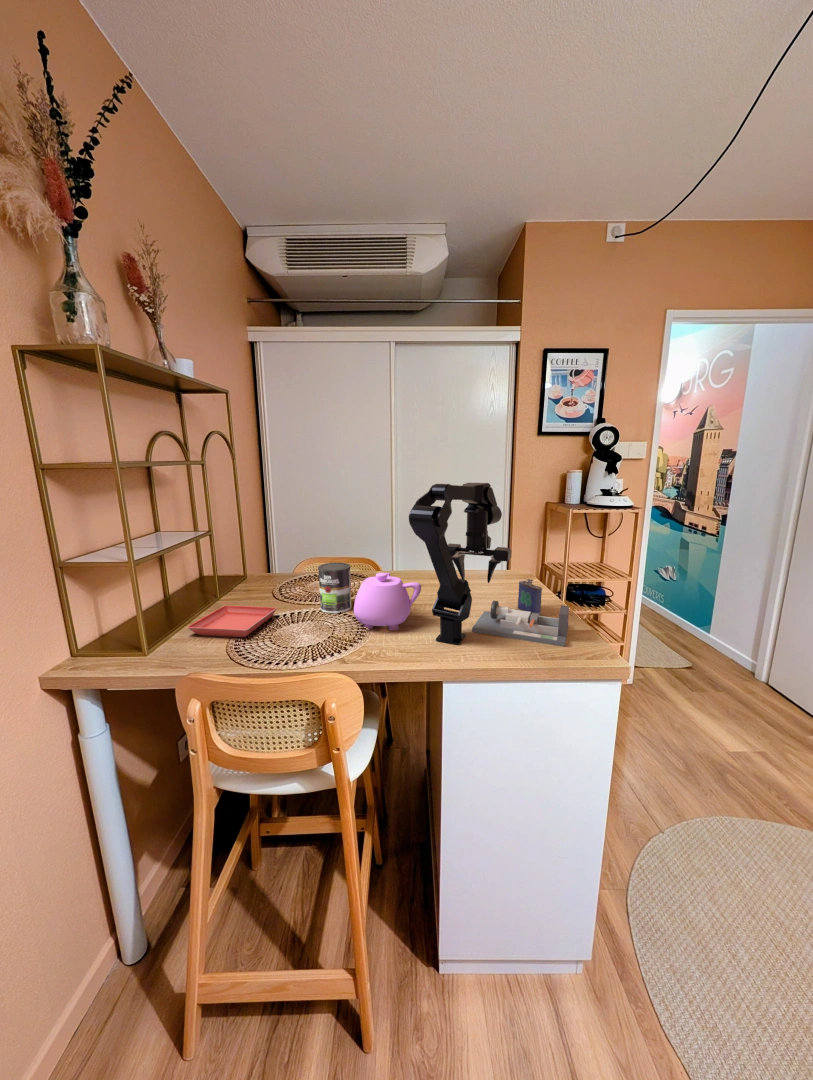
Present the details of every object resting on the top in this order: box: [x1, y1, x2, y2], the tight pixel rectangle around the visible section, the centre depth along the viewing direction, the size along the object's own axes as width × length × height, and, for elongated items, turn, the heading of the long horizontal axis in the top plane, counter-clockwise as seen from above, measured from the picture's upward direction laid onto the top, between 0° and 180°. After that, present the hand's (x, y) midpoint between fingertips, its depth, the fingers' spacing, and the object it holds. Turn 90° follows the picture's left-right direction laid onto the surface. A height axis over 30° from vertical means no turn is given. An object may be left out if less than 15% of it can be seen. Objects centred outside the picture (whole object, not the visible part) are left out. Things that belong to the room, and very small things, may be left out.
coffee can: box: [317, 562, 352, 614], centre depth 131 cm, size 10×10×14 cm
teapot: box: [353, 572, 422, 631], centre depth 119 cm, size 20×20×15 cm
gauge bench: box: [471, 604, 570, 647], centre depth 112 cm, size 24×14×7 cm, turn 65°
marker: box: [529, 613, 539, 628], centre depth 109 cm, size 2×9×3 cm, turn 155°
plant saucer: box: [187, 605, 278, 638], centre depth 118 cm, size 18×18×3 cm
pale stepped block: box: [490, 599, 531, 625], centre depth 112 cm, size 10×9×6 cm
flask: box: [517, 578, 543, 616], centre depth 125 cm, size 9×3×11 cm, turn 25°
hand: (475, 581), depth 116 cm, fingers open, 7 cm apart
